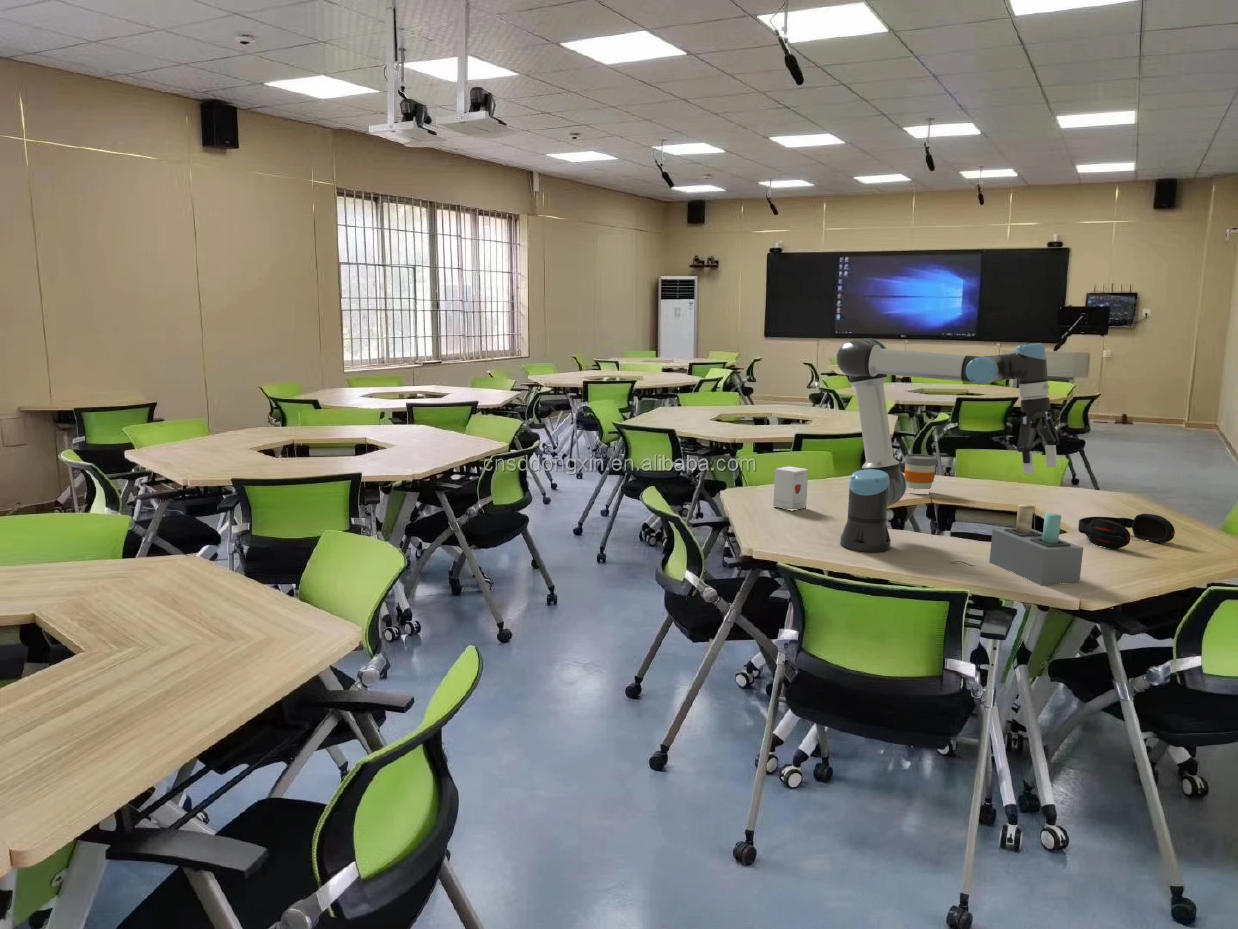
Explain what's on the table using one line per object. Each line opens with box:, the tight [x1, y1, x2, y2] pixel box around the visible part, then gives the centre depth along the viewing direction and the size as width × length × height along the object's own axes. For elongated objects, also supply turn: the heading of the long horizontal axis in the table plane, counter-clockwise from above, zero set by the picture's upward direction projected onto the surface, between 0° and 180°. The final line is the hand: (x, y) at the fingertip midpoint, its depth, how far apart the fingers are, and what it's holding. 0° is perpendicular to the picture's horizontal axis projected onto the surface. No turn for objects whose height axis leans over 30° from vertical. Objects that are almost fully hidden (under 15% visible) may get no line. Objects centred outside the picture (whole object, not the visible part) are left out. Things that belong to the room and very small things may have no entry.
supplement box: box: [772, 466, 809, 509], centre depth 315 cm, size 9×9×15 cm
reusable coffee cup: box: [903, 453, 938, 489], centre depth 346 cm, size 13×13×15 cm
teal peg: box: [1042, 512, 1062, 544], centre depth 233 cm, size 4×4×10 cm
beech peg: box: [1015, 504, 1034, 534], centre depth 244 cm, size 4×4×10 cm
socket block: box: [988, 527, 1084, 586], centre depth 240 cm, size 22×12×10 cm, turn 13°
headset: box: [1077, 513, 1176, 550], centre depth 273 cm, size 28×26×9 cm
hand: (1040, 470), depth 245 cm, fingers open, 13 cm apart
